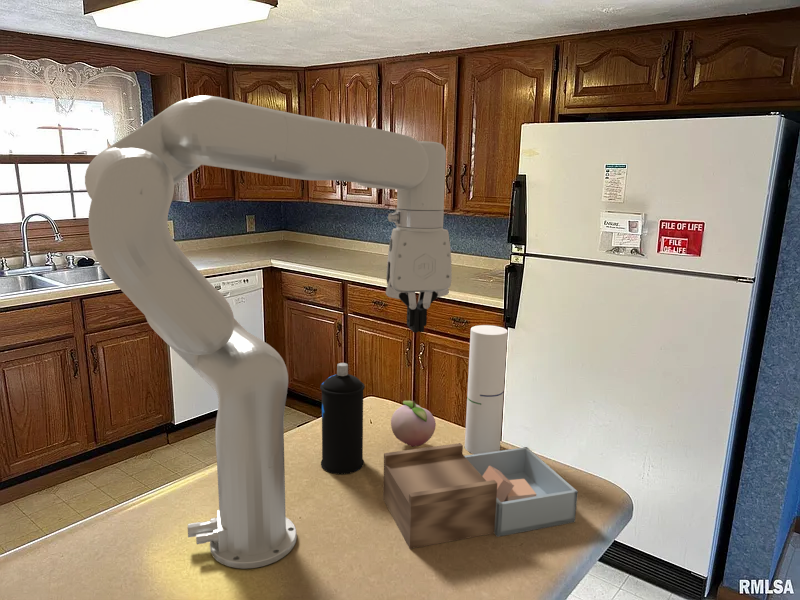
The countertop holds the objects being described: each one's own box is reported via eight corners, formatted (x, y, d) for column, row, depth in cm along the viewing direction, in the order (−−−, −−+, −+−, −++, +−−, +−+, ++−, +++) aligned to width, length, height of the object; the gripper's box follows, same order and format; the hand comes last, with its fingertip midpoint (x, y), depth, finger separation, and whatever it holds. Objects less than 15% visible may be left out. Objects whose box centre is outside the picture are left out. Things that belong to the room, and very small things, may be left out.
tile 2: (536, 494, 97) (535, 507, 98) (524, 478, 102) (523, 491, 102) (508, 496, 96) (507, 510, 97) (497, 481, 101) (496, 494, 101)
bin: (497, 536, 91) (499, 504, 90) (456, 484, 106) (457, 456, 105) (574, 522, 95) (577, 491, 94) (524, 474, 110) (526, 447, 109)
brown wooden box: (409, 548, 88) (411, 496, 86) (383, 499, 101) (384, 453, 99) (494, 533, 92) (497, 483, 90) (458, 487, 105) (460, 443, 103)
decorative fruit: (381, 443, 121) (382, 398, 119) (412, 433, 126) (414, 389, 124) (409, 462, 114) (410, 413, 111) (441, 450, 118) (443, 404, 116)
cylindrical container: (499, 457, 116) (507, 336, 111) (463, 453, 118) (469, 333, 112) (500, 441, 123) (507, 326, 118) (466, 438, 124) (472, 324, 119)
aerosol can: (372, 461, 114) (373, 362, 109) (346, 479, 107) (346, 375, 102) (338, 449, 118) (338, 354, 114) (311, 466, 111) (310, 366, 107)
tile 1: (503, 479, 95) (514, 485, 96) (489, 465, 100) (499, 470, 101) (486, 505, 96) (497, 511, 96) (473, 489, 100) (484, 495, 101)
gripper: (381, 222, 89) (379, 339, 93) (472, 222, 93) (466, 333, 97) (369, 218, 96) (367, 327, 100) (454, 218, 100) (449, 322, 104)
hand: (416, 330), depth 99 cm, fingers closed
